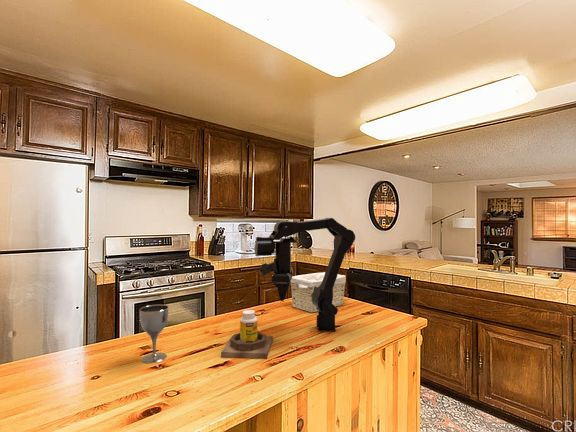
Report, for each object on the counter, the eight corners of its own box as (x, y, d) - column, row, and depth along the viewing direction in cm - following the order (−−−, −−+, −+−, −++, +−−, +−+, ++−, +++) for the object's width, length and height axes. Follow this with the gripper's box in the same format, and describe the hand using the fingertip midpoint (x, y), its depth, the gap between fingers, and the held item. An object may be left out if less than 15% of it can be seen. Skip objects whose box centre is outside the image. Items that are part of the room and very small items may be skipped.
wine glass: (140, 366, 88) (140, 313, 88) (139, 355, 95) (139, 306, 95) (169, 360, 92) (169, 309, 92) (166, 350, 99) (166, 303, 99)
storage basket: (323, 299, 164) (323, 271, 164) (347, 305, 151) (347, 275, 151) (288, 307, 148) (288, 276, 148) (312, 315, 136) (312, 281, 136)
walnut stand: (272, 340, 107) (272, 330, 107) (266, 358, 93) (266, 346, 93) (232, 339, 108) (232, 329, 108) (221, 356, 94) (221, 345, 94)
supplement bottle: (244, 348, 97) (244, 315, 97) (237, 342, 101) (237, 311, 101) (260, 344, 100) (260, 312, 100) (252, 338, 104) (252, 308, 104)
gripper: (265, 252, 124) (265, 291, 124) (256, 258, 105) (256, 304, 105) (293, 252, 123) (293, 292, 123) (289, 258, 104) (289, 304, 104)
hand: (283, 297), depth 114 cm, fingers open, 9 cm apart
